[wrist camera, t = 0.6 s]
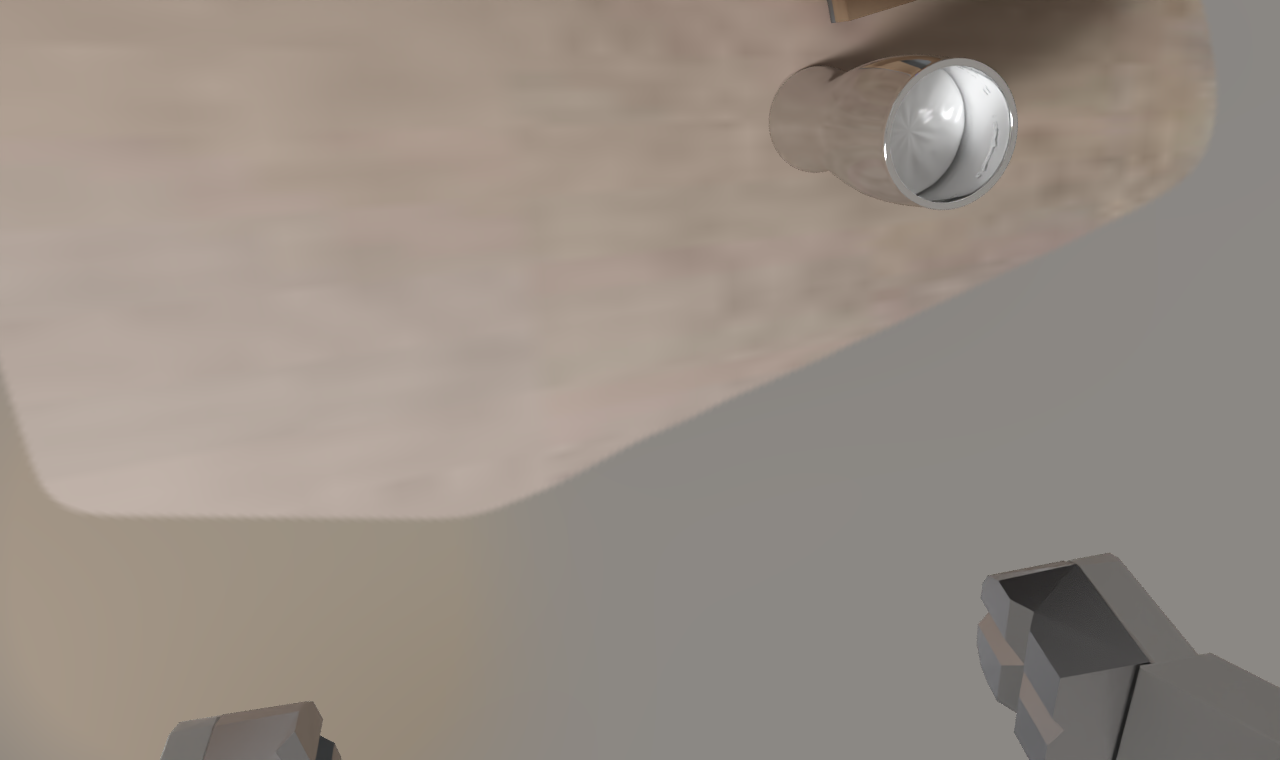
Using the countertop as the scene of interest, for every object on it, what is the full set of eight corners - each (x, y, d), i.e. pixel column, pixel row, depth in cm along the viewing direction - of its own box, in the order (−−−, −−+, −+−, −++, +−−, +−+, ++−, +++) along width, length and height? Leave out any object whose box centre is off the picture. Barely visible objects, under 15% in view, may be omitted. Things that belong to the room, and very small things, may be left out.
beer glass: (739, 142, 54) (850, 166, 40) (801, 33, 53) (938, 19, 39) (830, 200, 57) (965, 242, 43) (891, 97, 55) (1051, 106, 42)
